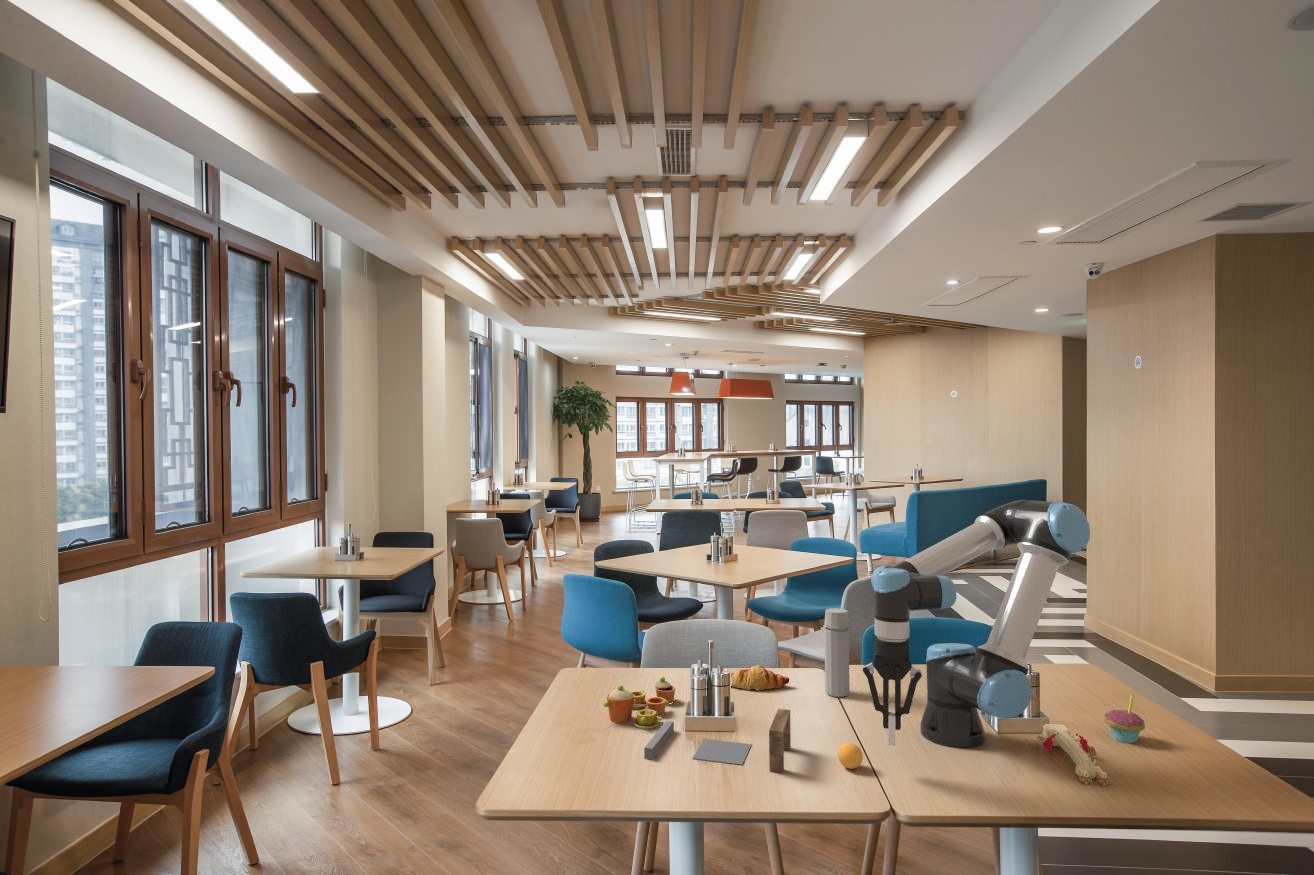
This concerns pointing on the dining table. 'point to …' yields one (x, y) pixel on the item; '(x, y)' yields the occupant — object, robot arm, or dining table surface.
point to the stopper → (658, 740)
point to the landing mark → (722, 751)
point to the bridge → (779, 740)
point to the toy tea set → (640, 704)
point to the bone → (1074, 752)
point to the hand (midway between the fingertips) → (891, 743)
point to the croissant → (757, 679)
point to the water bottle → (836, 652)
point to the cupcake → (1125, 724)
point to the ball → (850, 755)
